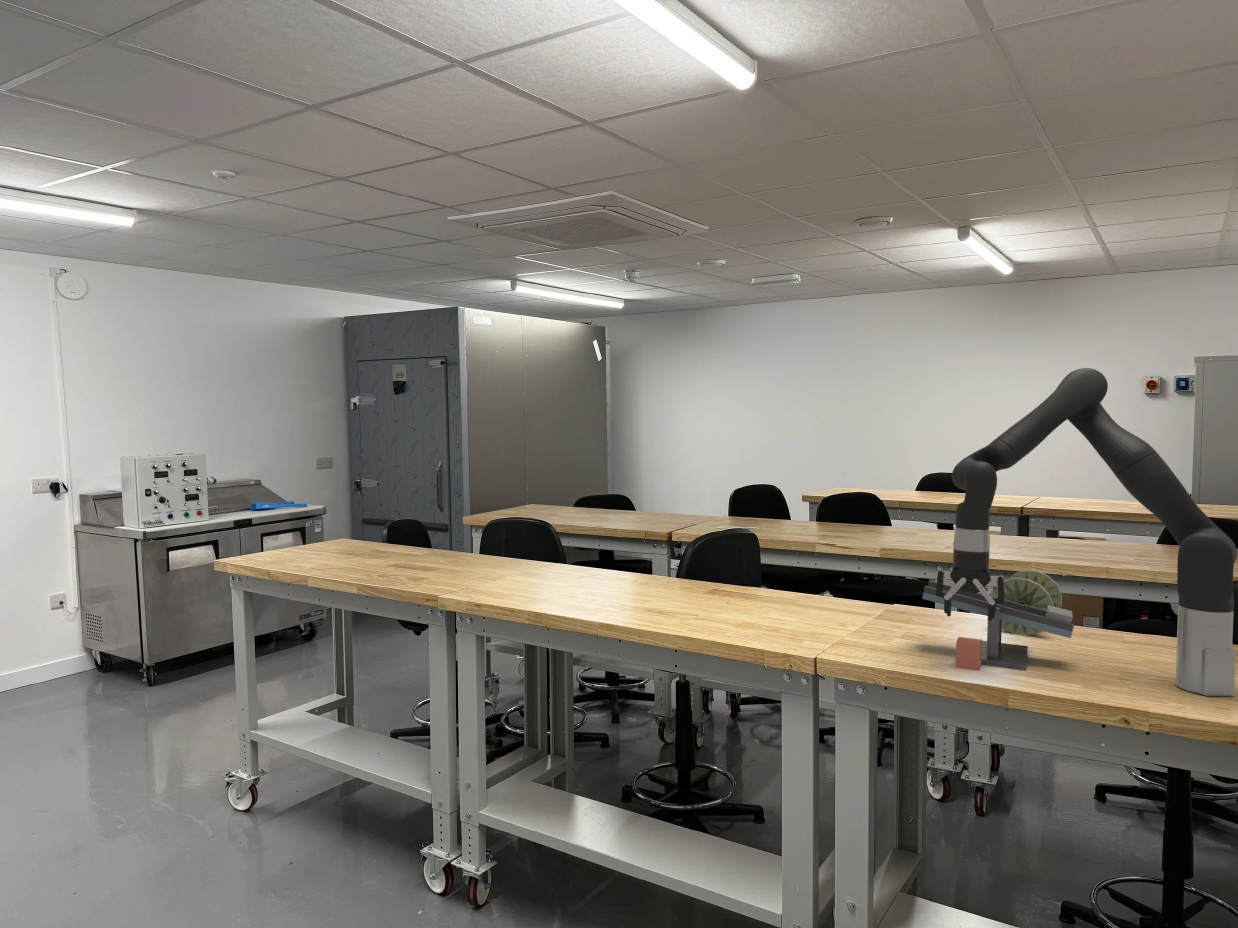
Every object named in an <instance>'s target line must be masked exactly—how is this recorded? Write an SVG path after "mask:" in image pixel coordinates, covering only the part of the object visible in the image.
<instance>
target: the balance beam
mask: <svg viewBox="0 0 1238 928" xmlns="http://www.w3.org/2000/svg"><path fill="white" fill-rule="evenodd" d="M936 586H937V581H935V580H928V585H925V586H924V589H923V593H922V597H921V598H922V600H926V601H930V602H933V603H937V604H940V605H944V599H943V598H942V597H938V596H936ZM953 586H954V585H949V584H946V583H945V584H944V583H943V591H944V592H946V593H947V592H948V591H949V590H950V589H951V588H952V587H953ZM994 598H996V597H994ZM951 599H952V604H951V608H956V609H959V610H963V611H967V612H971V613H975V614H977V615H978V614H979V615H983V616H985V617H988V604H989V602H988V601H987V600H986V598H985V597H984V596H983V595H982V593H981V592H978V593H972V592H962V591H961V590H959V589H958V590H957V592H956V593H955V594H954V595H953V596H952V597H951ZM995 607H997V608H1000V620H1004V621H1008V622H1011V623H1015V624H1019V625H1023V626H1026V627H1030V628H1034V629H1037V630H1041V632H1045V633H1049V634H1053V635H1057V636H1060V637H1065V638H1067V639H1071V638H1072V635H1073V630H1074V627H1075V624H1074V623H1073V618H1074V617H1073V611H1072V610H1069V609H1065V608H1062V607H1061V608H1057V607H1053V606H1049V605H1048V607H1047V610H1043V609H1039V608H1035V607H1032V606H1028V605H1024V604H1020V603H1016V602H1012V601H1008V600H1004V602H1003V603H999V604H996V605H995Z"/></svg>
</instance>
